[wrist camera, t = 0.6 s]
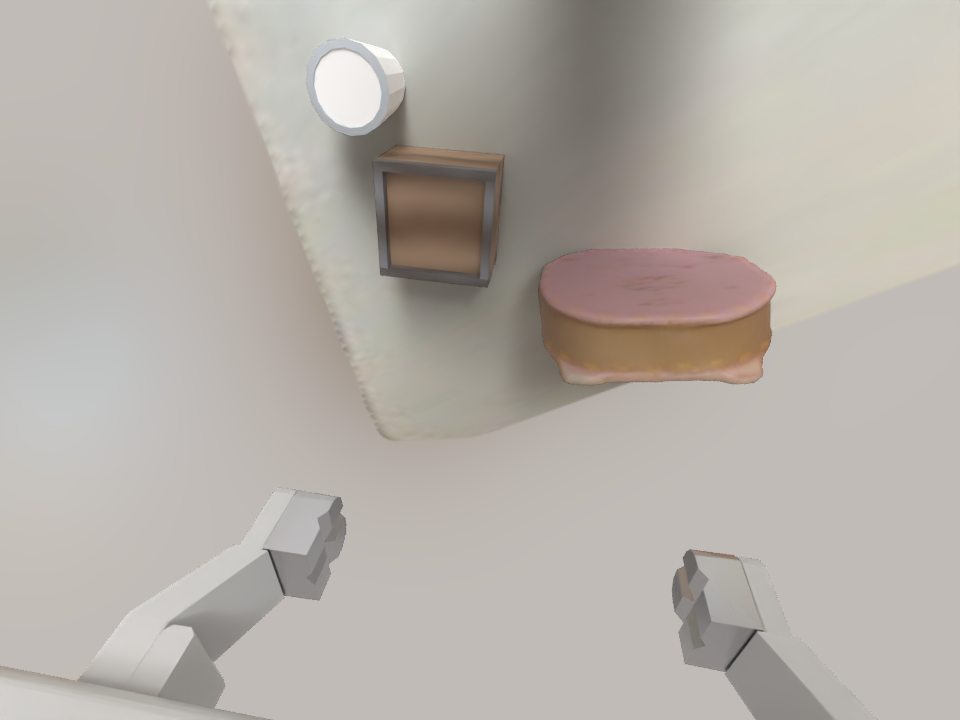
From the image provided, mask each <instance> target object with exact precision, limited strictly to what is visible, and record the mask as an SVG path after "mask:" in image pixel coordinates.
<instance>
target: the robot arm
mask: <svg viewBox="0 0 960 720" xmlns="http://www.w3.org/2000/svg"><path fill="white" fill-rule="evenodd" d="M342 507H343V504H342V500H341V498H340V497H335V496H330V495H324V494H318V493H312V492H306V491H301V490H295V489H288V488H282V487H279V488H278V489H277V490H276V491H274V492H273V493H272V495H271V497H270V498H269V500H268V501H267V503H266V505H265V506H264V508H263V509H262V511H261V512H260V514H259V516H258V517H257V519H256V520H255V522H254V523H253V525H252V526H251V528H250V530H249V531H248V533H247V534H246V536H245V537H244V539H243V541H242V542H241V544H240V545H232V546H231V547H229V548H228V549H226V550H225V551H223V552H222V553H220V554H218V555H217V556H215V557H214V558H212V559H211V560H209V561H208V562H206V563H205V564H203V565H202V566H200V567H198V568H197V569H195V570H194V571H192V572H191V573H189V574H188V575H187V576H185V577H183V578H182V579H180V580H179V581H177V582H175V583H174V584H172V585H171V586H169V587H168V588H166V589H165V590H163V591H162V592H160V593H159V594H157V595H155V596H154V597H152V598H151V599H149V600H148V601H146V602H145V603H143V604H142V605H140V606H139V607H137V608H136V609H134V610H132V611H131V612H129V613H128V614H127V615H126V616H125V618H124V619H123V621H122V622H121V623H120V624H119V626H118V627H117V628H116V630H115V631H114V632H113V634H112V635H111V636H110V638H109V639H108V640H107V642H106V643H105V644H104V646H103V647H102V648H101V650H100V651H99V653H98V654H97V655H96V656H95V658H94V659H93V660H92V662H91V663H90V664H89V666H88V667H87V668H86V670H85V671H84V672H83V674H82V675H81V676H80V678H79V679H78V680H77V681H75V680H69V679H65V678H59V677H54V676H50V675H45V674H40V673H34V672H29V671H24V670H19V669H14V668H9V667H4V666H0V720H271V719H266V718H261V717H255V716H250V715H246V714H240V713H236V712H231V711H225V710H220V709H215V706H216V704H217V702H218V700H219V698H220V696H221V694H222V692H223V690H224V688H225V683H224V679H223V678H222V676H221V674H220V673H219V671H218V670H217V668H216V666H215V665H214V663H213V662H214V661H215V660H216V659H218V657H220V656H221V655H222V654H223V653H224V652H225V651H226V650H228V649H229V648H230V647H231V646H232V645H233V644H234V643H235V642H236V641H237V640H239V639H240V638H241V637H242V636H243V635H244V634H245V633H246V632H247V631H248V630H250V629H251V628H252V627H253V626H254V625H255V624H256V623H257V622H258V621H260V620H261V619H262V618H263V617H264V616H265V615H266V614H267V613H268V612H269V611H270V610H272V609H273V608H274V607H275V606H276V605H277V604H278V603H279V602H281V600H283V599H284V596H291V597H298V598H305V599H312V600H320V598H321V596H322V593H323V591H324V589H325V586H326V584H327V582H328V579H329V577H330V575H331V572H330V568H329V563H330V562H332V561H333V560H335V559H336V558H337V557H338V556H339V554H340V551H341V549H342V547H343V543H344V539H345V535H346V520H345V517H344V516H343V515H342V514H340V511H341V509H342ZM683 561H684V566H683V567H681V568H679V569H677V571H676V574H675V576H674V578H673V587H672V597H673V604H674V611H675V613H676V614H677V615H678V616H679V618H680V619H681V620H682V621H683V625H682V627H681V629H680V631H679V637H680V642H681V647H682V652H683V657H684V662H685V664H688V665H693V666H698V667H703V668H709V669H713V670H718V671H723V672H726V673H725V675H726V677H727V678H728V679H729V681H730V682H731V684H732V685H733V687H734V688H735V690H736V691H737V693H738V694H739V696H740V697H741V698H742V700H743V702H744V703H745V704H746V706H747V708H748V709H749V710H750V712H751V713H752V715H753V716H754V718H755V719H756V720H878V719H877V718H876V717H875V716H874V715H873V714H872V713H871V712H870V711H869V710H868V709H867V708H866V707H865V706H864V705H863V704H862V703H861V702H860V701H859V699H858V698H857V697H856V696H855V695H854V694H853V693H852V692H851V691H850V690H849V689H848V688H847V687H846V686H845V685H844V684H843V683H842V682H841V681H840V680H839V679H838V677H837V676H836V675H835V674H834V673H833V672H832V671H831V670H830V669H829V668H828V667H827V666H826V665H825V664H824V663H823V662H822V661H821V660H820V659H819V658H818V657H817V655H816V654H815V653H814V652H813V651H812V650H811V649H810V648H809V647H808V646H807V645H806V644H805V643H804V642H803V641H802V640H801V639H800V638H797V637H793V636H792V634H791V632H790V629H789V627H788V624H787V621H786V619H785V616H784V613H783V611H782V608H781V606H780V603H779V601H778V598H777V595H776V592H775V590H774V587H773V585H772V582H771V580H770V577H769V574H768V572H767V569H766V566H765V565H764V563H763V562H761V560H758V559H752V558H744V557H736V556H734V555H727V554H720V553H713V552H706V551H698V550H688V551H686V553H685V555H684V557H683Z"/></svg>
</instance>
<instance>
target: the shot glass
mask: <svg viewBox="0 0 960 720" xmlns="http://www.w3.org/2000/svg"><path fill="white" fill-rule="evenodd" d="M405 87H406V85H405V79H404V73H403V71H402V69H401V67H400V65H399V63H398V61H397V59H396V58H395V57H393V56H392V55H391V54H390V53H389V52H388V51H387V50H385V49H382V48H379V47H376V46H373V45H370V44H366V43H362V42H359V41H355V40H351V39H348V38H339V39H332V40H328V41H326V42H325V43H324V44H322V45H321V46H320V47H318V48H317V49H316V50H315V52H314V54H313V56H312V58H311V60H310V62H309V64H308V69H307V88H308V92H309V96H310V100H311V103H312V105H313V106H314V108H315V110H316V111H317V113H318V114H319V116H320V118H321V119H322V120H323V121H324V122H325V123H327V124H328V125H329V126H330V127H331V128H333V129H334V130H335V131H337V132H340V133H343V134H346V135H349V136H357V135H366V134H367V133H369V132H371V131H372V130H374V129H375V128H377V127H378V126H379V125H381V124H382V123H383V122H384V121H385V120H386V119H387V118H388V117H389V116H390V115H391V114H392V113H394V112H395V111H396V110H397V109H398V107H399V105H400V104H401V102H402V100H403V98H404V92H405Z"/></svg>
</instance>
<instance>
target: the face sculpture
mask: <svg viewBox="0 0 960 720" xmlns="http://www.w3.org/2000/svg"><path fill="white" fill-rule="evenodd" d="M775 291H776V282H775V280H774V279H773V278H772V276H771V275H769V274H768V273H767V272H765V271H763V270H761V269H760V268H759V267H757V266H756V265H755V264H753V263H751V262H749V261H748V260H747V259H745V258H744V257H737V256H731V255H728V254H714V253H708V252H700V251H688V250H683V249H590V250H586V251H582V252H576V253H572V254H568V255H564V256H562V257H560V258H558V259H556V260H554V261H552V262H550V263H548V264H547V265H545V266H544V267H543V269H542V273H541V279H540V283H539V288H538V297H539V304H540V313H541V322H542V337H543V343H544V346H545V348H546V350H547V351H548V352H549V354H550V355H551V356H552V357H553V359H554V360H555V361H556V362H557V364H558V367H559V372H560V375H561V378H562V379H563V380H564V381H565V382H566V383H568V384H577V385H599V384H603V383H607V382H663V381H689V380H690V381H692V380H702V381H721V382H725V383H729V384H748V383H754V382H756V381H757V380H759V379H760V378H761V377H762V376H763V368H762V364H763V356H764V354H765V353H766V351H767V349H768V347H769V345H770V343H771V336H772V331H771V328H770V301H771V299H772V297H773V296H774V294H775Z"/></svg>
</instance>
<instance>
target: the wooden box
mask: <svg viewBox="0 0 960 720" xmlns="http://www.w3.org/2000/svg"><path fill="white" fill-rule="evenodd" d="M503 165H504V155H500V154H488V153H477V152H466V151H455V150H443V149H432V148H421V147H410V146H398V145H396V146H394V147H393V148H391V149H390V150H388V151H387V152H385V153H384V154H382V155H381V156H379V157H378V158H376V159H374V160H373V175H374V189H375V204H376V218H377V232H378V247H379V261H380V275H382V276H391V277H400V278H409V279H417V280H426V281H435V282H444V283H452V284H461V285H470V286H479V287H487V288H488V285H489V281H490V278H491V275H492V271H493V268H494V265H495V261H496V254H497V242H498V229H499V216H500V203H501V190H502V177H503Z"/></svg>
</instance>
